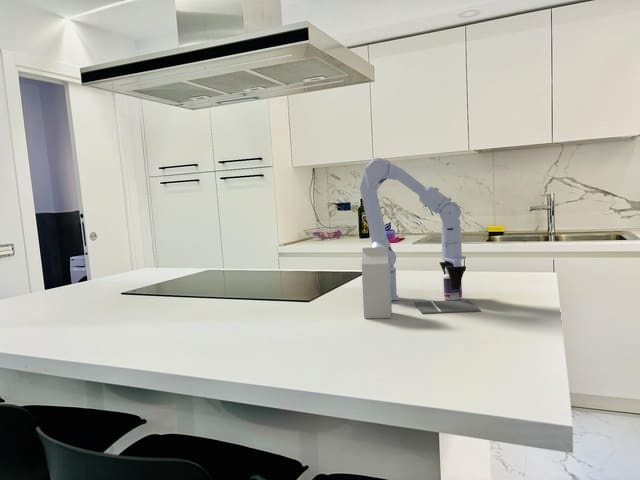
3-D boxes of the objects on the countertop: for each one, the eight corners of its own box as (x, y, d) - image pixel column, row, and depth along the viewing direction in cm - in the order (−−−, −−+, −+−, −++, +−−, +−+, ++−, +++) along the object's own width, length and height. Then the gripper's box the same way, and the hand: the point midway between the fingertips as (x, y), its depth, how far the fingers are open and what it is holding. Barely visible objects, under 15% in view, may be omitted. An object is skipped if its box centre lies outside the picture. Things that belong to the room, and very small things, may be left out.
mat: (422, 313, 136) (422, 312, 136) (414, 303, 149) (414, 301, 149) (480, 311, 136) (480, 309, 136) (468, 301, 148) (468, 299, 148)
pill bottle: (464, 299, 148) (462, 267, 148) (446, 300, 148) (444, 268, 148) (459, 297, 154) (458, 266, 154) (442, 298, 154) (440, 267, 154)
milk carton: (390, 318, 133) (387, 248, 131) (363, 318, 134) (360, 249, 133) (391, 312, 140) (389, 245, 138) (366, 312, 141) (363, 246, 140)
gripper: (471, 244, 142) (472, 290, 143) (459, 239, 157) (460, 281, 158) (446, 245, 142) (448, 292, 144) (436, 240, 157) (438, 282, 158)
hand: (452, 286), depth 151 cm, fingers open, 7 cm apart
